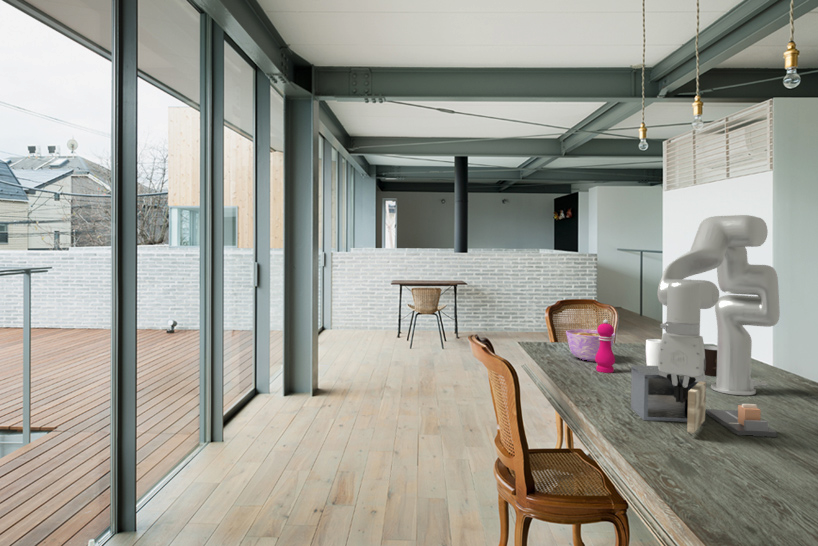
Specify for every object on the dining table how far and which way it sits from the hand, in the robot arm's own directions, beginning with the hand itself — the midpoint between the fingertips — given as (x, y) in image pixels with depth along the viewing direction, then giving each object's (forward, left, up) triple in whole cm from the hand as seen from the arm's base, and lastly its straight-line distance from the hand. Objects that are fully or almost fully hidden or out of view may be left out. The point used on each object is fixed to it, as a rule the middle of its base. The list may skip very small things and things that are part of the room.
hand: (680, 401), depth 132 cm
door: (-4, 0, -7) cm, 9 cm away
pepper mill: (+3, -67, -8) cm, 68 cm away
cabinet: (0, -13, -8) cm, 15 cm away
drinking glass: (-10, -50, -8) cm, 52 cm away
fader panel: (-17, -7, -8) cm, 20 cm away
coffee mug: (-34, -67, -8) cm, 76 cm away
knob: (-17, -2, -6) cm, 19 cm away
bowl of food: (+4, -89, -8) cm, 90 cm away
